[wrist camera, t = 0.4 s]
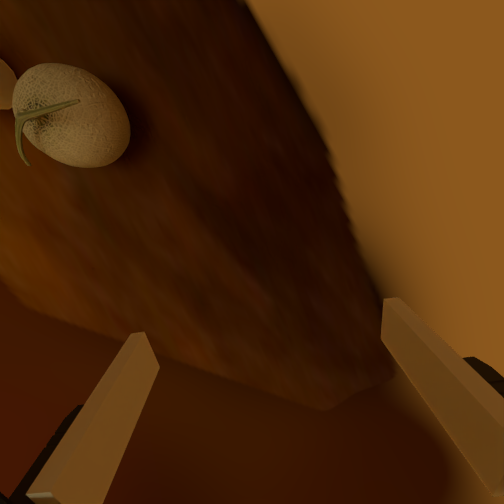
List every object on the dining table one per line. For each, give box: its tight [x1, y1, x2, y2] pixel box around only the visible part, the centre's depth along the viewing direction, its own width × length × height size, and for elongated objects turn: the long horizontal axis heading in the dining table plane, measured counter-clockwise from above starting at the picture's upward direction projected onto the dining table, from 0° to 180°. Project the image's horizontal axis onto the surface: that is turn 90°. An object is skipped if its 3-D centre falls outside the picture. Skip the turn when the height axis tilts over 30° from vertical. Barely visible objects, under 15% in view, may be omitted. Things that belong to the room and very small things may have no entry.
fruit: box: [12, 63, 130, 168], centre depth 26 cm, size 10×12×15 cm
